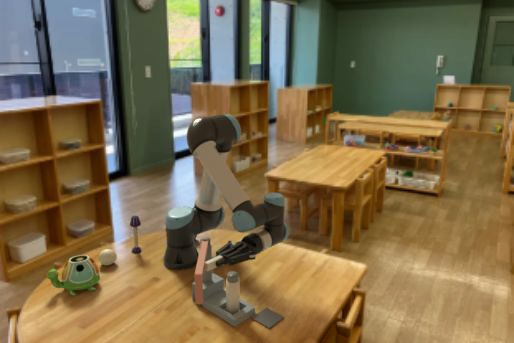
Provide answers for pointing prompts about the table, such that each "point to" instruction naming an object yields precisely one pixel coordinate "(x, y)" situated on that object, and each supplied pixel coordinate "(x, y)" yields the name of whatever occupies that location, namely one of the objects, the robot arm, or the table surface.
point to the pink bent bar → (201, 269)
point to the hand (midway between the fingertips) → (206, 266)
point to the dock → (220, 297)
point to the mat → (267, 317)
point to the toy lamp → (135, 233)
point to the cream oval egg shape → (107, 257)
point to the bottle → (232, 292)
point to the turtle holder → (76, 274)
